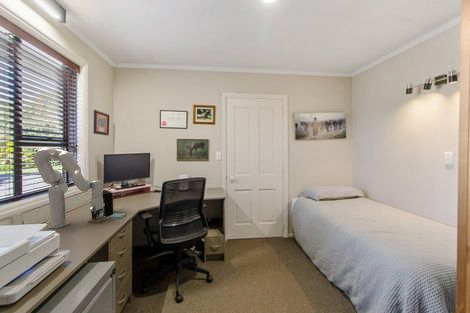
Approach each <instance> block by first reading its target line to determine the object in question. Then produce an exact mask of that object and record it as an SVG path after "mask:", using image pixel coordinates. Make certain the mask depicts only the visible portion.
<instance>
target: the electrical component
mask: <svg viewBox="0 0 470 313" xmlns="http://www.w3.org/2000/svg"><path fill="white" fill-rule="evenodd" d="M102 190H103V202H104V204H105V207H104V217H109V216H111V215H113V214H114V213H116V212H115V210H114V196H115V193H114V192H113V191H109V190H106V189H102Z"/></svg>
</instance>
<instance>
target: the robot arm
mask: <svg viewBox="0 0 470 313" xmlns="http://www.w3.org/2000/svg"><path fill="white" fill-rule="evenodd" d="M50 159H51V160H56V161H59V163H60V164H61V166H63V168H64V169H65V171H66V172H67V173H68V175H69V177H70V179H71V181H72V182H73V184H74V185H75V187H76V188H77V189H78V191H81V192H87V191H88V190H91V200H90V208H89V211H90V214H91V219H96V211H97V210H99V209H104V207H105V204H104V202H103V190H104V189H103V180H101V179H95V180H92V179H91V180H90V179H85V177H84V176H83V174H82V169H81V167H80V165H79V164H78V163H77V161H76V160H75V155H74V154H73V153H72V152H70V151H67V150H62V149H59V148H55V147H43V148H40V149H38V150H37V151H36V152H35V153H34V155H33V162H34V165H35V167H36V169H37V171H38V173H39V174H40V177H41V178H42V181H43V182H44V183H45V184H47V185H50V187H49V189H48V191H47V195H48V200H49V202H48V203H49V219H48V220H46V222H45V223H46V224H48V225H47V228H49V229H58V228H59V229H60V228H64V227H67V226H68V225H69V221H67V213H66V211H67V209H66V198H65V194H66V193H68V191H69V186H68V183H67V182H66V180H65V178H64V175H62V173H61V172H60V171H58V170H55V169H54V167H53V166H52V163H51V162H50ZM103 215H104V212H103Z"/></svg>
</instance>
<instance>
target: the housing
mask: <svg viewBox="0 0 470 313" xmlns="http://www.w3.org/2000/svg"><path fill="white" fill-rule="evenodd" d="M103 212H104V209H99V210H97V211H96V219H92V218H91V219H92V220H101V219H103V218H104V217H105V216H104V215H103Z"/></svg>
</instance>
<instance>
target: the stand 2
mask: <svg viewBox="0 0 470 313" xmlns="http://www.w3.org/2000/svg"><path fill="white" fill-rule="evenodd" d="M126 216H127V213H125V212H123V213H121V212H120V213H119V212H115V213H114V214H113V215H111V216H107V217H108V220H122V219H124V217H126Z"/></svg>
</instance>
